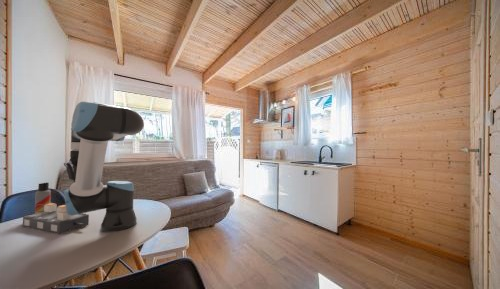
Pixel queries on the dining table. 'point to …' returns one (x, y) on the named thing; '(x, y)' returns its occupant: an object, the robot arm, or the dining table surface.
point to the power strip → (54, 222)
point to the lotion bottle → (42, 197)
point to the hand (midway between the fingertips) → (78, 191)
